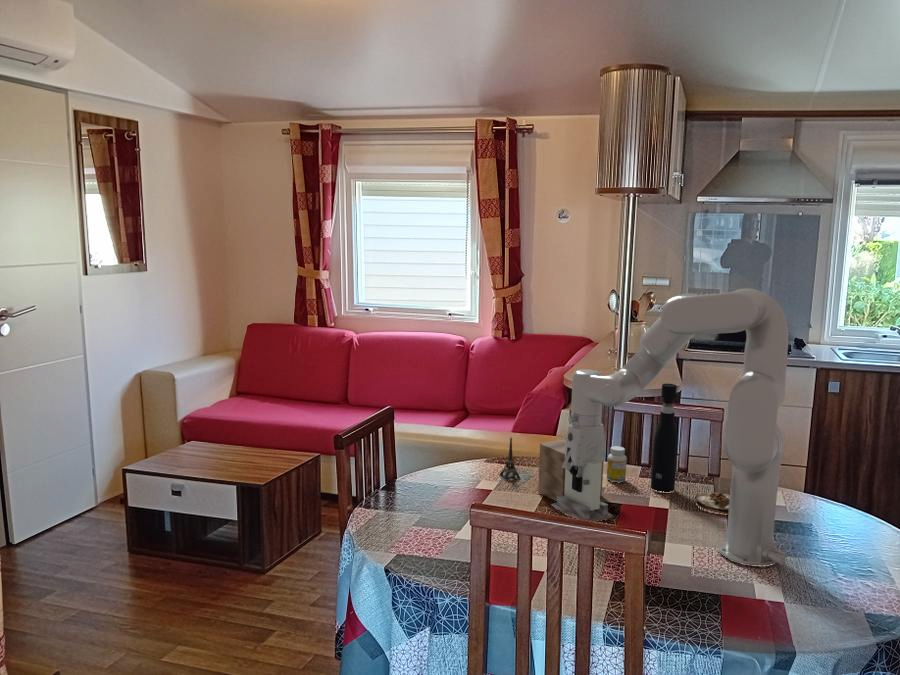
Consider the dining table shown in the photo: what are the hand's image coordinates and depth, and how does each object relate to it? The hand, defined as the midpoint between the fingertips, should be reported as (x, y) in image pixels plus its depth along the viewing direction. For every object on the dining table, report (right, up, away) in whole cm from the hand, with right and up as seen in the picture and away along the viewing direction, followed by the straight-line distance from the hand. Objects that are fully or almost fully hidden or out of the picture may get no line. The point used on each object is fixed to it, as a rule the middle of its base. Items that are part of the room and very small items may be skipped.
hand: (582, 488), depth 183 cm
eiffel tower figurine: (-16, -3, +26) cm, 31 cm away
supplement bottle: (+14, -3, +25) cm, 29 cm away
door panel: (0, -4, +1) cm, 4 cm away
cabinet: (+1, -5, +7) cm, 9 cm away
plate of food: (+37, -7, +7) cm, 39 cm away
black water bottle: (+26, -4, +18) cm, 32 cm away
